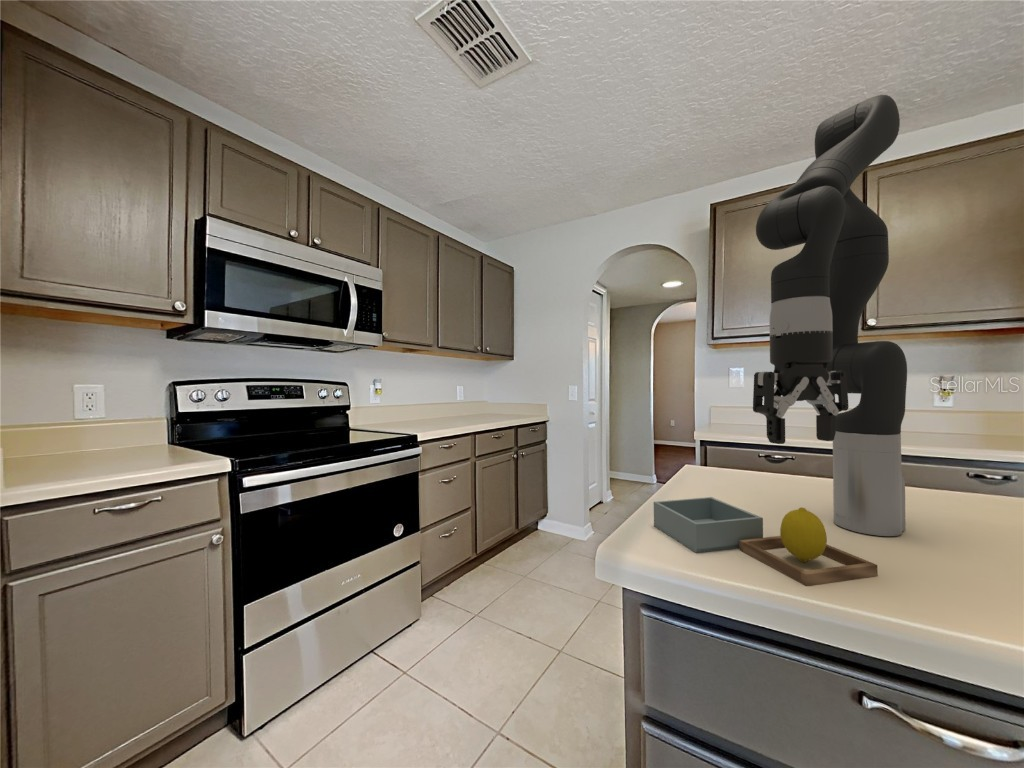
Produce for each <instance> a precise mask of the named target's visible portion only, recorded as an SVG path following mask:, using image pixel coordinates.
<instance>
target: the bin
mask: <svg viewBox="0 0 1024 768" xmlns="http://www.w3.org/2000/svg"><path fill="white" fill-rule="evenodd" d="M653 527H655V528H656V529H658V530H660V531H661V532H663V533H664V534H666V535H668V536H669V537H671V538H672V539H674V540H675V539H676V540H675V541H677V542H678V541H679V542H678V543H680V544H681V543H682V545H683V546H684V547H686V548H688V549H689V548H690V550H691V551H692V550H693V552H694V553H695V554H699V553H700V554H701V553H702V554H703V553H708V552H718V551H726V550H728V551H729V550H736V549H739V540H747V539H756V538H764V518H763V517H762V516H759V515H756V514H755V513H752V512H749V511H748V510H744V509H743V508H739V507H737V506H734V505H732V504H730V503H727V502H725V501H722V500H720V499H717V498H715V497H712V496H709V497H708V496H707V497H696V498H695V497H693V498H685V499H672V500H671V499H669V500H659V501H653Z"/></svg>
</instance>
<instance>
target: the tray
mask: <svg viewBox="0 0 1024 768" xmlns="http://www.w3.org/2000/svg"><path fill="white" fill-rule="evenodd" d="M778 548H785V546H784V545H783V543H782V540H781V535H776V536H769V537H768V536H767V537H763V538H756V539H747V540H739V548H738V550H739V551H741V552H743V553H744V554H746V555H749V556H750V557H751V558H753V559H756V560H757V561H759V562H762V563H763V564H765V565H767V566H769V567H771V568H772V569H775V570H776V571H778V572H780V573H782V574H784V575H785V576H787V577H789V578H791V579H793V580H795V581H797V582H798V583H800V584H802V585H804V586H806V587H807V586H808V587H809V586H815V585H817V586H818V585H822V584H824V585H825V584H829V583H835V582H843V581H844V582H845V581H850V580H858V579H865V578H872V577H878V564H877V563H874V562H871V561H869V560H866V559H864V558H861V557H859V556H856V555H854V554H852V553H849V552H846V551H844V550H842V549H840V548H837V547H835V546H831V545H829V544H826V548H825V550H824V552H823V554H822V555H823V556H825V557H827V558H830V559H832V560H834V561H836V562H839V563H840V564H843V565H842V566H835V567H825V568H819V569H817V568H816V569H813V570H812V569H811V570H805V569H803V568H801V567H799V566H797V565H795V564H793V563H791V562H789V561H788V560H785V559H784V558H781V557H779V556H777V555H774V554H773V553H770V552H769V551H767V550H769V549H778ZM822 555H821V556H822Z"/></svg>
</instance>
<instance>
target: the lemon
mask: <svg viewBox="0 0 1024 768" xmlns="http://www.w3.org/2000/svg"><path fill="white" fill-rule="evenodd" d="M779 530H780V533H779V534H780V535H779V536H781V540H782V543H783V545H784V546H785V547H784V548H785V549H786V550H787V552H789V553H790V554H791V555H792V556H794V557H796V558H797V559H798V560H799V561H800V562H801V563H807V562H808V561H810V560H815V559H817V558H819V557H821V556H822V554H823V552H824V550H825V548H826V544H827V542H828V541H827V540H828V538H827V536H828V535H827V532H826V531H827V530H826V528H825V525H824V524H823V522H822V520H821V518H819V517H818V516H817V515H816V514H814V513H813V512H811V511H809V510H807V509H806V508H805V507H799V508H798V509H793V510H790V511H789V512H787V513H786V514H785V515H784V516H783V518H782V521H781V524H780V529H779ZM827 545H828V544H827Z"/></svg>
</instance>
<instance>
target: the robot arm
mask: <svg viewBox="0 0 1024 768" xmlns="http://www.w3.org/2000/svg"><path fill="white" fill-rule="evenodd" d="M900 119H901V118H900V113H899V108H898V105H897V102H896V101H895V100H894V99H893V98H892V97H891V96H890V95H888V94H878V95H875V96H872V97H870V98H867V99H865V100H862V101H860V102H859V103H857V104H854V105H852V106H850V107H848V108H846V109H844V110H842V111H840V112H838V113H836V114H834V115H832V116H829V117H828V118H826V119H824V120H823V121H821V123H820V124H818V126H817V127H816V131H815V133H814V135H815V136H814V154H815V156H814V157H815V160H813V161H812V162H811V163H810V164H809V165H808V166H807V167H806V169H804V171H803V172H802V174H801V175H800V176H799V178H798V179H797V181H796V182H795V183H794V184H792V185H791V186H789V187H788V188H786V189H785V190H783V191H782V192H781V193H779V194H778V195H777V196H775V197H774V198H773V199H771V200H770V201H769V202H768V203H767V204H766V205H765V206H764V207H763V209H762V210H761V211H760V213H759V215H758V218H757V220H756V224H755V236H756V238H757V240H758V242H759V243H760V244H761V246H763V247H764V248H766V249H769V250H771V251H773V250H774V251H777V250H778V251H779V250H783V249H784V250H785V249H788V248H792V247H796V246H800V245H803V244H804V245H803V247H802V249H801V250H800V252H798V253H797V254H796V255H794V256H792V257H791V258H789V259H787V260H784V261H782V262H780V263H778V264H776V265H775V266H774V267H773V269H772V271H771V273H770V313H769V362H770V364H771V365H773V366H774V367H773V371H756V372H755V373H754V374H753V394H752V397H753V398H752V410H753V412H754V413H757V414H760V415H764V416H765V419H766V438H767V440H768V442H770V443H772V444H776V445H784V444H786V418H784V416H785V414H786V413H787V412H788V410H789V408H790V407H792V406H793V405H795V403H796V402H802V401H806V402H807V403H808V404H809V405H812V407H813V409H814V410H815V411H816V413H817V414H816V415H815V420H816V421H815V425H816V426H815V427H816V428H815V429H816V430H815V431H816V439H817V440H819V441H822V442H823V441H824V442H832V480H833V481H832V484H833V486H832V487H833V489H832V494H833V498H832V499H833V522H834V524H835V525H837V526H838V527H841V528H843V529H846V530H849V531H853V532H856V533H860V534H865V535H871V536H881V537H897V536H900V535H902V534H903V531H906V529H907V528H906V525H907V524H906V477H904V475H902V434H901V433H902V430H901V429H902V423H903V420H904V418H905V414H906V401H907V400H906V398H907V397H906V396H907V382H908V364H907V362H908V361H907V358H906V355H905V353H904V351H903V349H902V347H901V346H900V345H898V344H897V343H895V342H893V341H890V340H877V341H867V342H866V341H865V342H859V327H860V322H861V317H862V314H863V312H864V310H865V308H866V306H867V304H868V303H869V301H870V300H871V297H872V296H873V295H874V294H875V292H876V290H877V288H878V287H879V285H880V283H881V282H882V280H883V278H884V276H885V274H886V272H887V270H888V267H889V261H890V257H889V256H890V255H889V252H890V250H889V247H890V246H889V230H888V226H887V224H886V222H885V221H884V220H883V219H882V218H881V217H880V215H879V214H877V213H876V212H875V211H874V210H873V209H872V208H871V207H869V206H868V205H867V204H866V203H865V202H863V201H862V200H861V199H860V198H859V197H858V196H857V195H856V194H855V193H854V192H853V190H852V189H851V188H850V187H852V185H853V183H854V181H855V180H856V179H857V178H858V177H859V176H860V175H861V174H862V173H863V172H864V171H865V170H866V169H867V168H868V167H869V166H870V165H871V164H872V163H873V162H875V160H877V159H878V158H879V157H880V156H881V155H882V154H883V153H884V152H886V151H887V150H888V149H889V148H890V147H891V146H893V144H894V143H895V142H896V139H897V137H898V136H899V132H900V125H901V124H900V123H901V122H900ZM849 394H859V395H860V398H859V403H858V404H857V405H856V406H855V407H853V408H851V409H850V410H849V396H848V395H849ZM836 395H837V398H838V401H837V402H836ZM842 411H843V412H842Z"/></svg>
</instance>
